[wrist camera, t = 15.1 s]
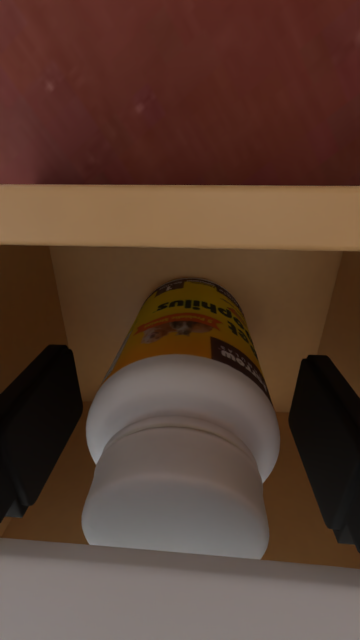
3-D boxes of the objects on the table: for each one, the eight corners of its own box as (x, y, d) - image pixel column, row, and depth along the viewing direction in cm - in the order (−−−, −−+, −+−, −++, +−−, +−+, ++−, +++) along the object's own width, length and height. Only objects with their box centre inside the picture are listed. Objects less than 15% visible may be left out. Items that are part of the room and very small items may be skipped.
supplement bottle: (262, 297, 14) (380, 507, 5) (216, 378, 16) (236, 624, 7) (159, 255, 13) (68, 403, 4) (126, 346, 16) (23, 567, 7)
